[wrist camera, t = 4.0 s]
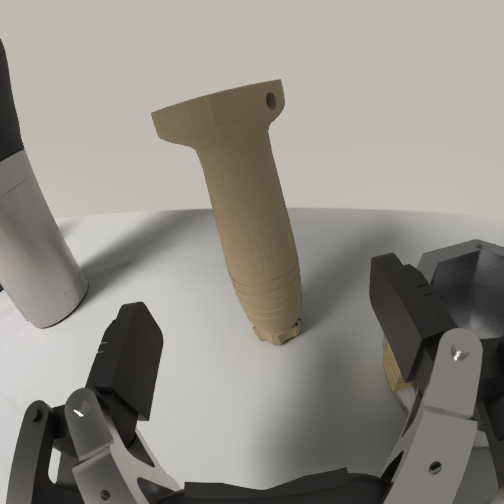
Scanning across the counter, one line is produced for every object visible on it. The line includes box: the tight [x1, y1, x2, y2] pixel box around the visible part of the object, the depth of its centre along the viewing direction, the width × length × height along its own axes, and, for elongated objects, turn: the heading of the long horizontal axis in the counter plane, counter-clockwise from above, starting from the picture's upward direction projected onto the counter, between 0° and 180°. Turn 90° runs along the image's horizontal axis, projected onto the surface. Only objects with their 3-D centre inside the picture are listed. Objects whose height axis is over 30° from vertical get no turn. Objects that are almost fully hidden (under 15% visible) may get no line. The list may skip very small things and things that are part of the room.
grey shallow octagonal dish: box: [382, 239, 504, 449], centre depth 12 cm, size 15×14×4 cm
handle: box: [151, 79, 302, 345], centre depth 15 cm, size 5×6×15 cm
